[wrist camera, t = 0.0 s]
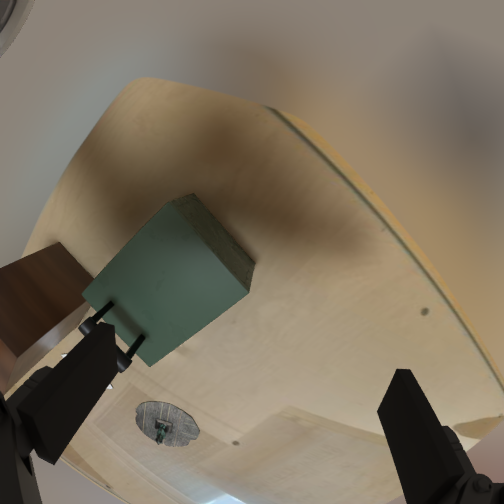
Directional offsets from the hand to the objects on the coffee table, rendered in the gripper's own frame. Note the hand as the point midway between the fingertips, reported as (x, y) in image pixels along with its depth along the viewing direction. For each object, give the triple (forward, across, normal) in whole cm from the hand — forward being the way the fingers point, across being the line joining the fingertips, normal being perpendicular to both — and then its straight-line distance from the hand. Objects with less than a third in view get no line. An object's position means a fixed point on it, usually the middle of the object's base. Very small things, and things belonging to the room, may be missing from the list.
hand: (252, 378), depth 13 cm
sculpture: (+27, -12, -36) cm, 46 cm away
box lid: (+18, -10, -5) cm, 21 cm away
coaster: (+27, -27, -28) cm, 47 cm away
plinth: (+27, -29, -12) cm, 41 cm away
